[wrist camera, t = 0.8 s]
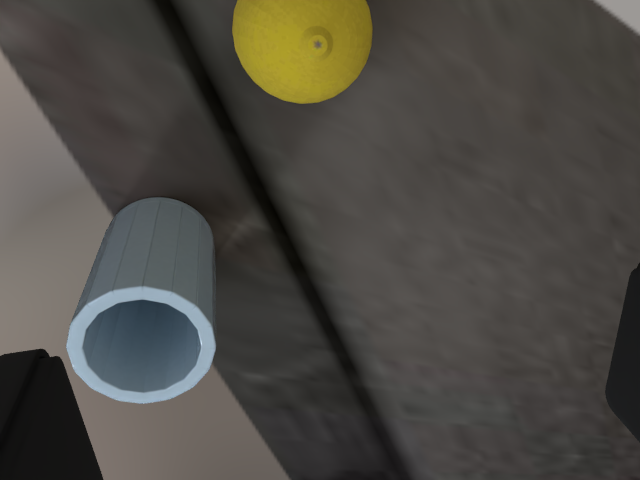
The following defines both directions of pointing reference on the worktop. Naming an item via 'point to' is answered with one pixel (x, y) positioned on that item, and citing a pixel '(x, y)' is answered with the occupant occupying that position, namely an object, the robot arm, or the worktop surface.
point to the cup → (148, 305)
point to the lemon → (302, 45)
